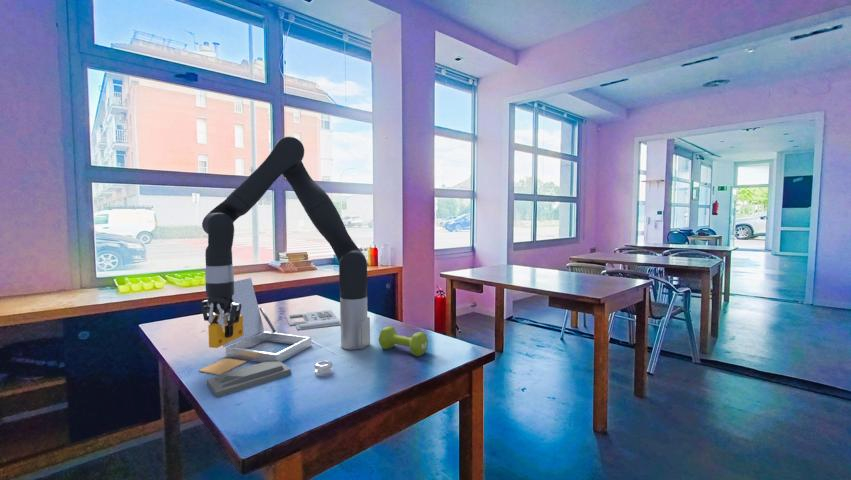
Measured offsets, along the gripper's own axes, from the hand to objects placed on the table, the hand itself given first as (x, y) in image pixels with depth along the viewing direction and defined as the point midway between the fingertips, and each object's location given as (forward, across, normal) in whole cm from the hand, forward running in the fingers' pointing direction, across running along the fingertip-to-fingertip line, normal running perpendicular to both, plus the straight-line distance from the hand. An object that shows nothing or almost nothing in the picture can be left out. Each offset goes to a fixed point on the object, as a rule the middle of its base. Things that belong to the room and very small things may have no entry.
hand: (221, 335), depth 118 cm
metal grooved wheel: (+10, -31, -7) cm, 33 cm away
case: (+9, -4, -15) cm, 19 cm away
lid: (-3, +9, -15) cm, 18 cm away
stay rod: (+8, +5, -25) cm, 27 cm away
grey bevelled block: (+10, -15, +4) cm, 18 cm away
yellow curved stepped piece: (+2, 0, -1) cm, 2 cm away
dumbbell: (+9, -46, -31) cm, 56 cm away
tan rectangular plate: (+10, 0, 0) cm, 10 cm away
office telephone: (+10, +4, -50) cm, 51 cm away
